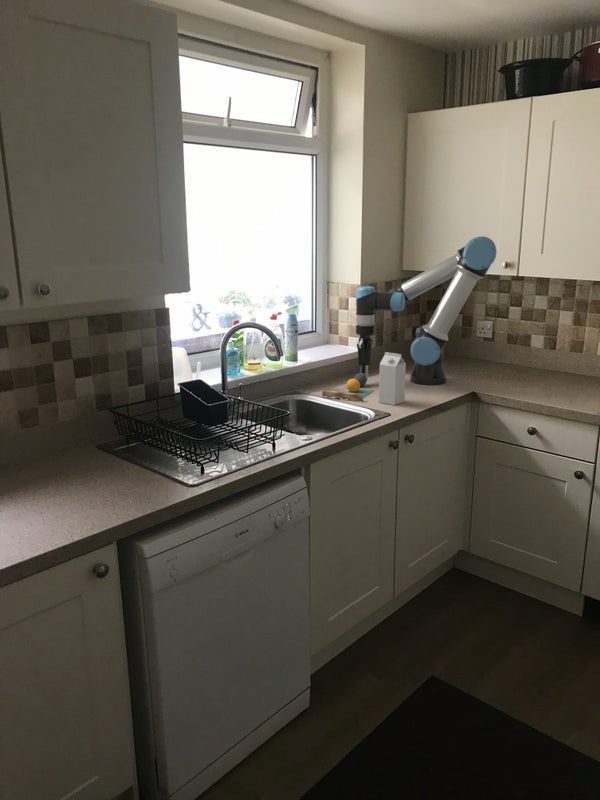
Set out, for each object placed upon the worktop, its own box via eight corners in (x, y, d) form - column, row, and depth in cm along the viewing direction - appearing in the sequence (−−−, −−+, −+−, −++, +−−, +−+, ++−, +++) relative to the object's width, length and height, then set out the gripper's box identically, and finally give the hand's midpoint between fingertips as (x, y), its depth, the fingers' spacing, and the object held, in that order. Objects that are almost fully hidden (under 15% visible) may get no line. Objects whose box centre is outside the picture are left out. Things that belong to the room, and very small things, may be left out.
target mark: (373, 390, 266) (373, 390, 266) (361, 399, 254) (361, 398, 254) (341, 387, 272) (341, 387, 272) (328, 395, 260) (328, 395, 260)
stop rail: (362, 400, 253) (362, 394, 252) (360, 401, 251) (360, 395, 250) (324, 396, 259) (324, 390, 258) (322, 397, 257) (322, 391, 257)
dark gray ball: (365, 372, 270) (362, 384, 269) (370, 377, 275) (366, 389, 273) (353, 370, 273) (350, 382, 271) (358, 375, 277) (354, 387, 276)
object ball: (362, 377, 265) (357, 381, 260) (361, 390, 266) (357, 394, 262) (349, 376, 267) (344, 380, 262) (348, 389, 268) (344, 393, 264)
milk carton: (388, 398, 255) (389, 350, 250) (404, 401, 250) (406, 352, 245) (378, 402, 249) (379, 353, 244) (394, 405, 245) (396, 355, 240)
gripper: (361, 321, 277) (361, 376, 283) (350, 326, 266) (350, 382, 272) (378, 322, 274) (377, 377, 280) (368, 327, 263) (367, 384, 269)
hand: (364, 380), depth 276 cm, fingers closed
